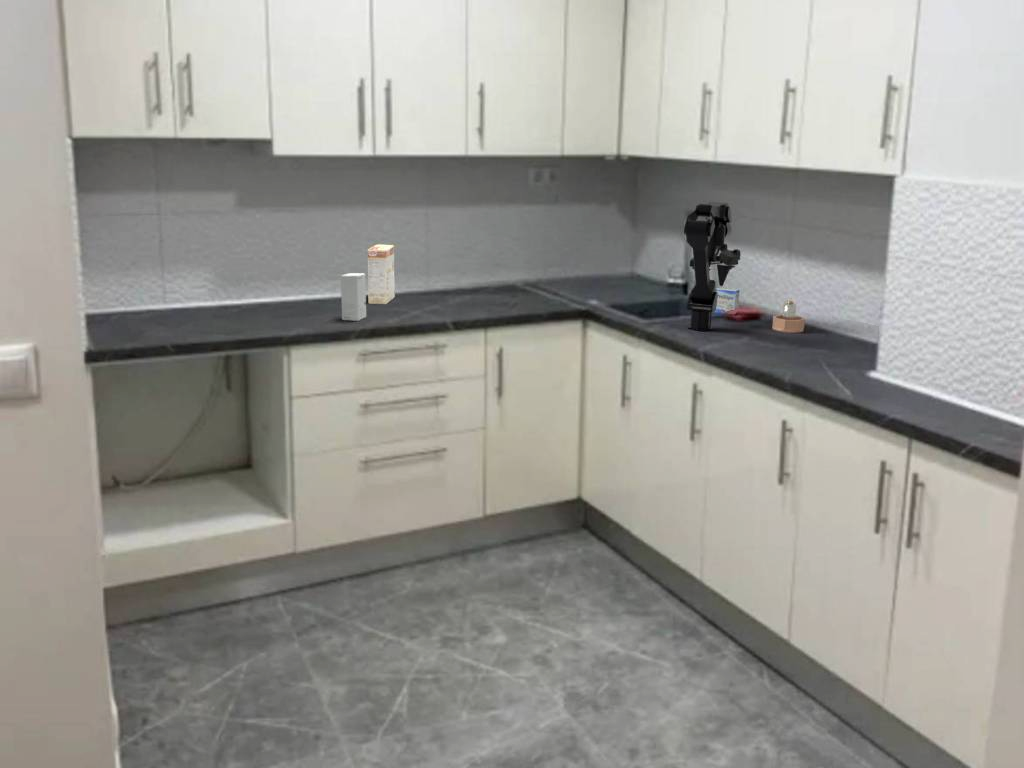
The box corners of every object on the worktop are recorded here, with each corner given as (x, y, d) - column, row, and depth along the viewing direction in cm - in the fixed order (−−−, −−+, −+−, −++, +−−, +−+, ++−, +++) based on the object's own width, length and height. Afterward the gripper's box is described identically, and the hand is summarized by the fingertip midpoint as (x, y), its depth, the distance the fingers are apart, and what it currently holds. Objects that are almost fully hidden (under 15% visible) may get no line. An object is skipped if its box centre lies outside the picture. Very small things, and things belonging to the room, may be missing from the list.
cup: (791, 333, 336) (792, 321, 335) (766, 328, 343) (767, 316, 342) (809, 330, 342) (810, 318, 341) (784, 325, 349) (785, 313, 348)
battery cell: (789, 328, 340) (791, 303, 337) (779, 326, 343) (781, 301, 340) (796, 327, 342) (799, 301, 340) (786, 325, 345) (788, 300, 343)
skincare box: (358, 321, 339) (357, 276, 335) (340, 320, 340) (340, 275, 337) (366, 316, 347) (366, 272, 343) (349, 315, 348) (349, 271, 345)
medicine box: (712, 313, 369) (714, 289, 367) (716, 311, 373) (718, 287, 371) (734, 315, 366) (736, 291, 363) (737, 313, 369) (739, 289, 367)
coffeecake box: (376, 296, 386) (376, 244, 381) (395, 297, 385) (395, 244, 380) (367, 303, 371) (366, 249, 367) (386, 304, 371) (386, 249, 366)
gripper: (716, 244, 334) (713, 292, 337) (752, 241, 345) (749, 288, 349) (690, 241, 342) (686, 288, 346) (726, 238, 353) (722, 283, 357)
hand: (712, 287), depth 349 cm, fingers open, 9 cm apart
